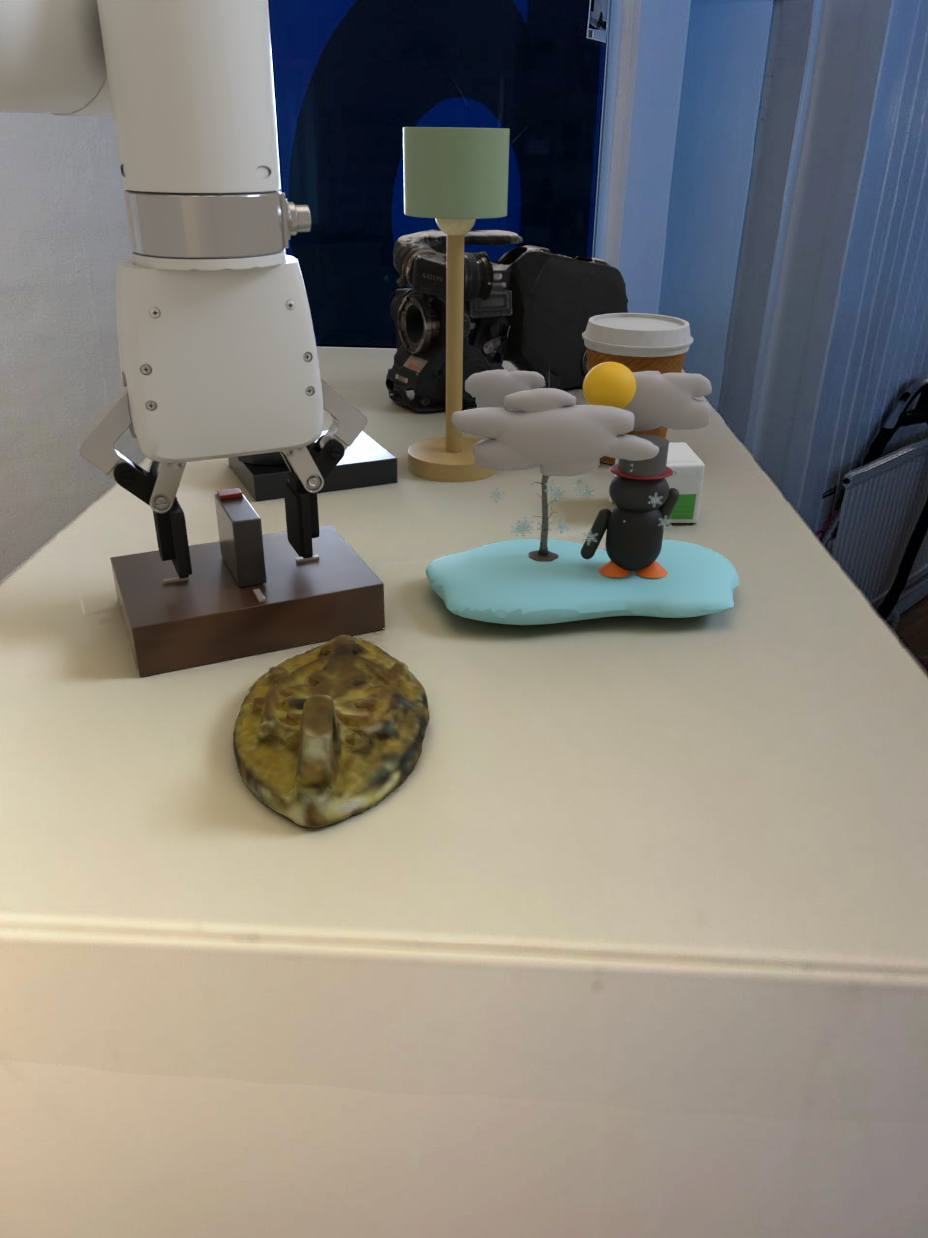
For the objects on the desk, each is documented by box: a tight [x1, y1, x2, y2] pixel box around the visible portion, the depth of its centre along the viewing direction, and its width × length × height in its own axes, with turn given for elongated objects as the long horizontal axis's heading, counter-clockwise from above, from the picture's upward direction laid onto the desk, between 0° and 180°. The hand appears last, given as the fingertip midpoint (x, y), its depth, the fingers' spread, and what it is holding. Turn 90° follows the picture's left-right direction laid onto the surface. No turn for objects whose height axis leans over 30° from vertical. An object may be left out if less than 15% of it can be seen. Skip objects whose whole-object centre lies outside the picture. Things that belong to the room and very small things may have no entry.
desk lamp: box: [402, 126, 511, 483], centre depth 76 cm, size 8×8×26 cm
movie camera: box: [385, 228, 629, 412], centre depth 101 cm, size 31×18×18 cm, turn 119°
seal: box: [232, 635, 431, 828], centre depth 45 cm, size 9×5×15 cm
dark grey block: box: [214, 487, 267, 587], centre depth 54 cm, size 5×2×4 cm, turn 25°
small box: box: [613, 441, 706, 524], centre depth 72 cm, size 6×6×5 cm
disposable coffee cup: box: [582, 312, 694, 466], centre depth 83 cm, size 10×10×12 cm
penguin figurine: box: [424, 362, 741, 626], centre depth 56 cm, size 20×11×15 cm, turn 93°
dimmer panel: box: [109, 524, 386, 678], centre depth 56 cm, size 14×10×3 cm
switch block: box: [227, 429, 398, 503], centre depth 79 cm, size 12×10×4 cm
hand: (242, 556), depth 55 cm, fingers open, 6 cm apart
